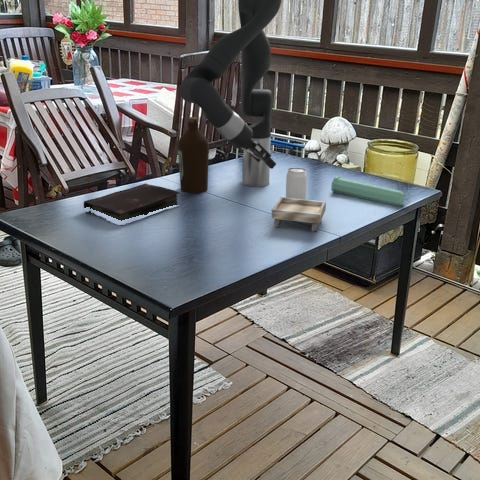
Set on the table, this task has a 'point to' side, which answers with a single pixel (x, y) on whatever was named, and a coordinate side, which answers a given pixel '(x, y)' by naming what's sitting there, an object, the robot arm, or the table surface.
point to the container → (367, 191)
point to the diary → (134, 201)
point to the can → (296, 183)
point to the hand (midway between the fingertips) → (266, 163)
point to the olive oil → (193, 159)
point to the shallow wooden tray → (298, 211)
